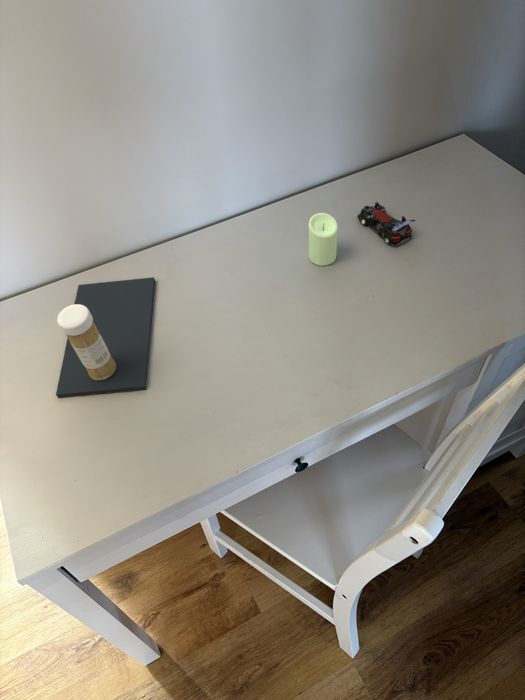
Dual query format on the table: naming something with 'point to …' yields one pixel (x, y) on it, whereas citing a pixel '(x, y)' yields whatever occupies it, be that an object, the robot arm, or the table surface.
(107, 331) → the mat
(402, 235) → the toy car
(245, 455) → the table surface
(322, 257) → the candle
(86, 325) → the sprinkles bottle
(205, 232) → the table surface
